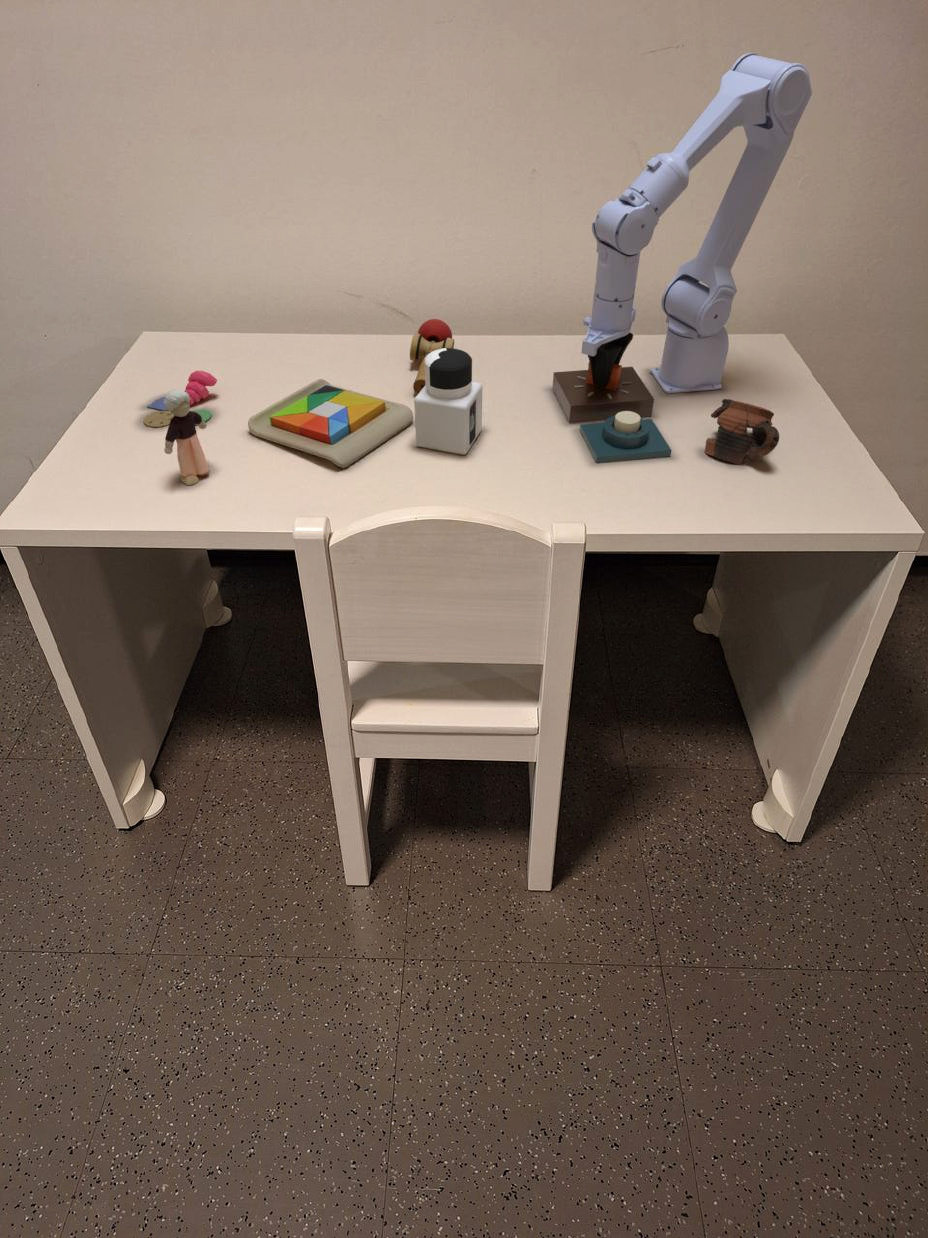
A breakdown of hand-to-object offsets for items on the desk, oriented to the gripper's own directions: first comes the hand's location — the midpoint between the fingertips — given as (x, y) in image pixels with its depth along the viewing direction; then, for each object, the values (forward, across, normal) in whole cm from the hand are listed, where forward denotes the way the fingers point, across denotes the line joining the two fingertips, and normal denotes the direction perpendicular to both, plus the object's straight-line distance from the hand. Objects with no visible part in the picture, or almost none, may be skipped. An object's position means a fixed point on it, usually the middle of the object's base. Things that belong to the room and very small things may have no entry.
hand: (603, 382), depth 125 cm
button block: (+3, +10, +8) cm, 13 cm away
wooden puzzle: (+4, +28, -31) cm, 42 cm away
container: (+4, +22, -14) cm, 26 cm away
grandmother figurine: (+4, +48, -39) cm, 62 cm away
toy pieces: (+4, +36, -54) cm, 66 cm away
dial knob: (0, 0, 0) cm, 0 cm away
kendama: (+4, +5, -29) cm, 29 cm away
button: (+1, +10, +8) cm, 13 cm away
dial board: (+3, 0, 0) cm, 3 cm away
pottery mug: (+4, +2, +23) cm, 24 cm away
